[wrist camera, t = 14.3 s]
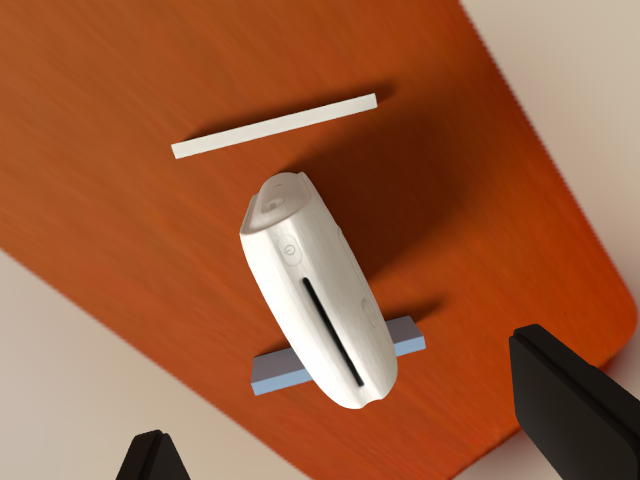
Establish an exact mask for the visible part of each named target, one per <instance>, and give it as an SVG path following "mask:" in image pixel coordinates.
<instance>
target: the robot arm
mask: <svg viewBox="0 0 640 480" xmlns="http://www.w3.org/2000/svg"><path fill="white" fill-rule="evenodd" d="M509 348H510V359H511V371H512V382H513V393H514V404H515V414H516V417H517V420H518V422H519V424H520V426H521V427H522V429H523V430H524V431H525V432H526V433H527V435H528V436H529V437H530V439H531V440H532V441H533V442H534V444H535V445H536V446H537V448H538V449H539V450H540V451H541V453H542V454H543V455H544V456H545V458H546V459H547V460H548V461H549V463H550V464H551V465H552V466H553V468H554V469H555V470H556V471H557V473H558V474H559V475H560V476H561V478H562V479H563V480H640V401H639V400H638V399H636V398H635V397H634V396H632V395H631V394H630V393H629V392H628V391H626V390H625V389H624V388H622V387H621V386H620V385H618V384H617V383H616V382H615V381H614V380H612V379H611V378H610V377H608V376H607V375H606V374H604V373H603V372H602V371H601V370H599V369H598V368H596V367H595V366H593V365H590V364H588V363H587V362H586V361H585V360H583V359H582V358H581V357H580V356H578V355H577V354H576V353H574V352H573V351H572V350H571V349H569V348H568V347H567V346H566V345H564V344H563V343H562V342H561V341H559V340H558V339H557V338H555V337H554V336H553V335H552V334H550V333H549V332H548V331H547V330H545V329H544V328H543V327H542V326H540V325H538V324H532V325H528V326H525V327H521V328H518V329H515V330H514V332H513V336H511V337H509ZM116 480H191V479H190V477H189V475H188V473H187V471H186V469H185V467H184V465H183V463H182V460H181V458H180V456H179V454H178V452H177V450H176V448H175V446H174V444H173V442H172V439H171V437H170V436H169V435H168V434H167V433H165V434H163V433H162V431H160V430H154V431H150V432H147V433H143V434H139V435H137V436H135V437H134V439H133V440H132V442H131V445H130V447H129V449H128V452H127V454H126V457H125V459H124V461H123V464H122V466H121V468H120V471H119V473H118V475H117V478H116Z"/></svg>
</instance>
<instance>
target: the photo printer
mask: <svg viewBox="0 0 640 480" xmlns="http://www.w3.org/2000/svg"><path fill="white" fill-rule="evenodd" d="M240 237H241V242H242V246H243V249H244V253H245V256H246V259H247V261H248V264H249V266H250V269H251V271H252V273H253V275H254V277H255V279H256V281H257V283H258V285H259V287H260V290H261V292H262V294H263V296H264V298H265V299H266V301H267V303H268V305H269V307H270V309H271V311H272V313H273V314H274V316H275V318H276V320H277V322H278V324H279V325H280V327H281V329H282V331H283V332H284V334H285V336H286V337H287V339H288V341H289V343H290V344H291V346H292V348H293V349H294V351H295V352H296V354H297V356H298V357H299V359H300V360H301V362H302V363H303V365H304V366H305V368H306V369H307V371H308V372H309V374H310V375H311V377H312V378H313V379H314V381H315V382H316V383H317V385H318V386H319V387H320V388H321V389H322V390H323V391H324V392H325V393H326V394H327V395H328V396H329V397H330V398H331V399H332V400H334V401H335V402H336V403H338V404H339V405H341V406H343V407H346V408H352V409H358V408H362V407H363V406H365V405H366V404H367V403H369V402H371V401H373V400H377V399H382V398H384V397H385V396H386V395H387V394H388V393H389V391H390V390H391V388H392V387H393V385H394V383H395V381H396V377H397V370H398V367H397V359H396V351H395V347H394V344H393V341H392V339H391V336H390V334H389V331H388V328H387V326H386V323H385V321H384V319H383V316H382V314H381V312H380V309H379V307H378V305H377V303H376V300H375V298H374V296H373V294H372V292H371V290H370V288H369V285H368V283H367V281H366V279H365V277H364V275H363V273H362V271H361V269H360V267H359V265H358V263H357V261H356V259H355V257H354V255H353V253H352V251H351V249H350V247H349V245H348V243H347V241H346V239H345V237H344V236H343V234H342V231H341V229H340V227H339V226H338V225H337V224H336V222H335V221H334V219H333V217H332V215H331V214H330V212H329V210H328V209H327V207H326V206H325V204H324V202H323V200H322V198H321V197H320V195H319V194H318V192H317V190H316V188H315V187H314V185H313V184H312V182H311V181H310V180H309V178H308V177H307V176H306V175H305V173H304V172H300V173H298V174H295V173H289V172H285V173H279V174H276V175H274V176H272V177H270V178H269V179H268V180H267V181H266V182H265V183H264V184H263V186H262V187H261V189H260V191H259V193H257V194H254V195H253V197H252V199H251V201H250V204H249V207H248V209H247V212H246V215H245V218H244V220H243V224H242V227H241V229H240Z"/></svg>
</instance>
